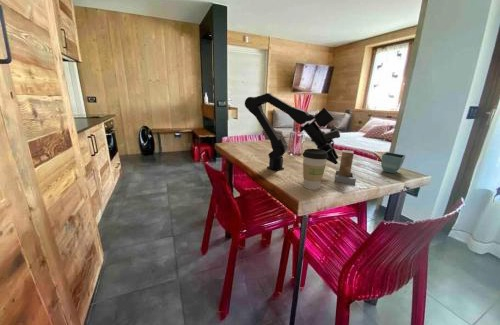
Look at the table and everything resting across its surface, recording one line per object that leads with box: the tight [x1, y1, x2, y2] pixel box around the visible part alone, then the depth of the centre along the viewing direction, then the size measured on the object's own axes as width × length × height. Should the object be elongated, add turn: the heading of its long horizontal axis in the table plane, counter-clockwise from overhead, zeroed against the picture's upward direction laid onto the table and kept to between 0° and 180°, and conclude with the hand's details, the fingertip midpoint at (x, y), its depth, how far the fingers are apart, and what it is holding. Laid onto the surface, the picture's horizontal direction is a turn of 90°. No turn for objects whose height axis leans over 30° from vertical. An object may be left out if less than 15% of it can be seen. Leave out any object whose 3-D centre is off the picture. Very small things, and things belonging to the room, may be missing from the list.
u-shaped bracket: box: [334, 169, 357, 185], centre depth 98 cm, size 8×9×2 cm
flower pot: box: [381, 151, 406, 174], centre depth 110 cm, size 9×9×9 cm
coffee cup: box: [302, 148, 328, 191], centre depth 87 cm, size 10×10×15 cm
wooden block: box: [338, 149, 355, 177], centre depth 97 cm, size 4×4×13 cm
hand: (337, 160), depth 97 cm, fingers open, 9 cm apart
